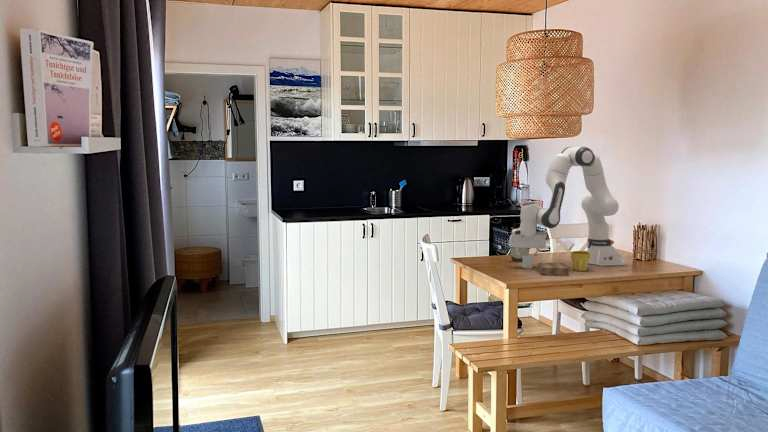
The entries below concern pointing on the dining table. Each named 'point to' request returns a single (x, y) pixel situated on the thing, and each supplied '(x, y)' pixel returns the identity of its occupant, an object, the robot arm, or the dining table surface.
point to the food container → (522, 253)
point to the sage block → (527, 262)
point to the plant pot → (580, 260)
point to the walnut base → (553, 269)
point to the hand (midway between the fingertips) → (526, 255)
